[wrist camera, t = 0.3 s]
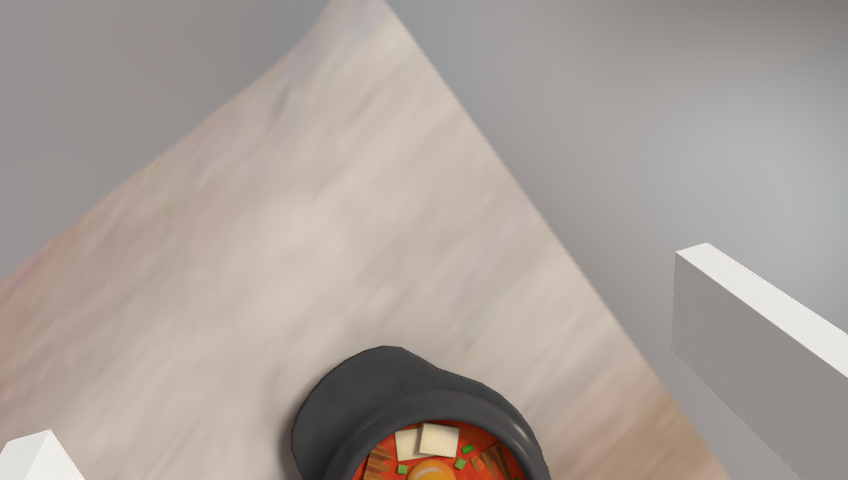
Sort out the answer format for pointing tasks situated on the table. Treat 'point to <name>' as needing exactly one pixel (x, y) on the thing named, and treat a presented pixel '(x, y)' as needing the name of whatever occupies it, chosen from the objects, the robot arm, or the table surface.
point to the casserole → (410, 425)
